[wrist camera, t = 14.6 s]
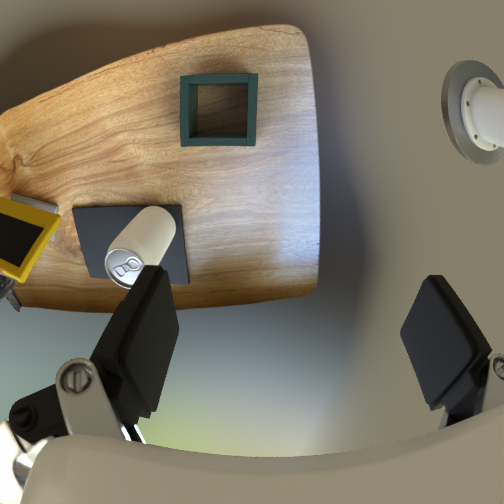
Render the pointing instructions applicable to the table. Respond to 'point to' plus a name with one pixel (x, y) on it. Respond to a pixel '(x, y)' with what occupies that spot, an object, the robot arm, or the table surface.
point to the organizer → (191, 101)
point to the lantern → (6, 284)
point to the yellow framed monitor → (24, 233)
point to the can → (140, 245)
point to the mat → (112, 224)
